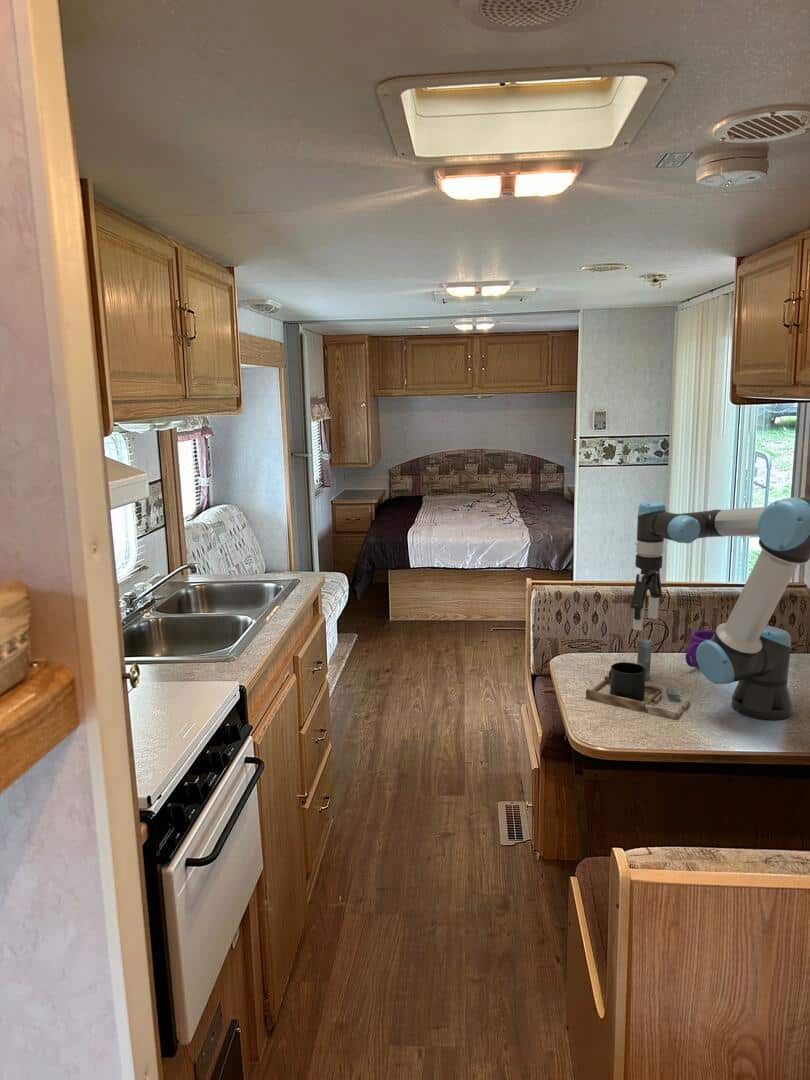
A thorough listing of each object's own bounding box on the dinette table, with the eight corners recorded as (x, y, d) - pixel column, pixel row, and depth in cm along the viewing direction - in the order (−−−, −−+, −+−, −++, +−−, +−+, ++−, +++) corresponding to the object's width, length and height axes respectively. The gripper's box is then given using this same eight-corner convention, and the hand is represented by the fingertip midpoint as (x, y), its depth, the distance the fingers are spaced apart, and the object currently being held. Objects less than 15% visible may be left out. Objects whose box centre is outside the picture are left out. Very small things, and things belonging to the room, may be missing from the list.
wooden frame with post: (672, 682, 230) (674, 644, 228) (643, 712, 210) (645, 670, 208) (618, 671, 240) (620, 634, 237) (585, 698, 219) (587, 658, 217)
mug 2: (702, 656, 252) (704, 627, 250) (734, 666, 243) (737, 636, 241) (669, 668, 242) (671, 637, 240) (702, 678, 233) (704, 647, 231)
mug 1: (620, 686, 228) (621, 657, 226) (651, 700, 218) (653, 669, 216) (596, 692, 224) (597, 663, 222) (627, 707, 213) (628, 676, 212)
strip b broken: (694, 699, 218) (695, 692, 218) (677, 719, 205) (677, 712, 204) (664, 692, 223) (664, 686, 223) (644, 712, 210) (645, 705, 209)
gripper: (650, 545, 238) (646, 611, 243) (621, 560, 219) (618, 632, 223) (675, 548, 234) (671, 615, 238) (647, 564, 214) (643, 637, 219)
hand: (645, 623), depth 231 cm, fingers open, 13 cm apart
